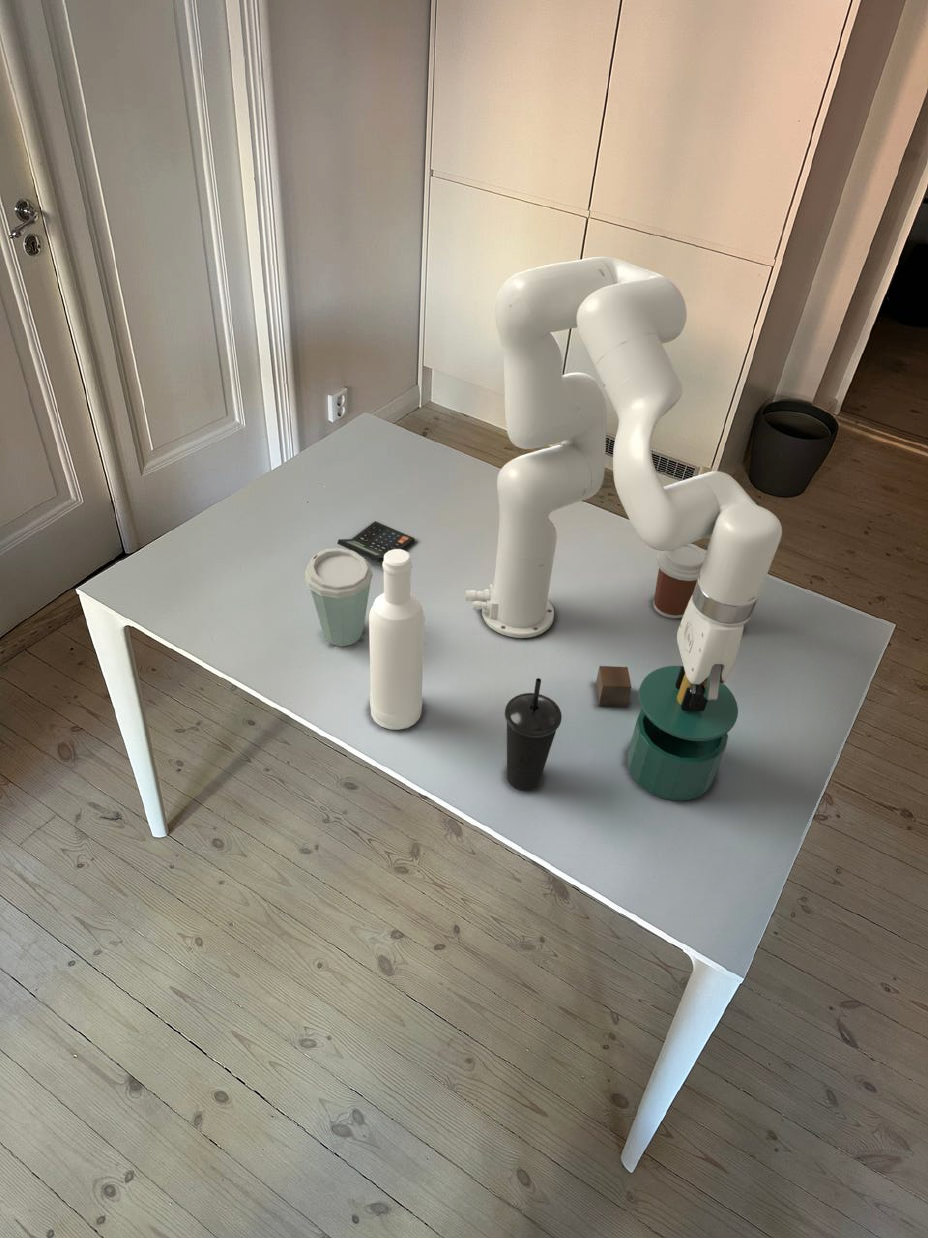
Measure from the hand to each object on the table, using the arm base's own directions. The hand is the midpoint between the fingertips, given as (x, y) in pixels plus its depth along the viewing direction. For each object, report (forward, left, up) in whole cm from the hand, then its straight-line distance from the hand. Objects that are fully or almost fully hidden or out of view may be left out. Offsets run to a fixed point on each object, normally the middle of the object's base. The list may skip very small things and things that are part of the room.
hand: (689, 697), depth 121 cm
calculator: (-47, +51, -14) cm, 70 cm away
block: (-7, +14, -14) cm, 21 cm away
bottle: (-41, +9, -14) cm, 44 cm away
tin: (0, 0, -14) cm, 14 cm away
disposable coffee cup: (-51, +26, -14) cm, 59 cm away
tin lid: (0, 0, -1) cm, 1 cm away
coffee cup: (+7, +37, -14) cm, 40 cm away
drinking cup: (-22, -3, -14) cm, 26 cm away
